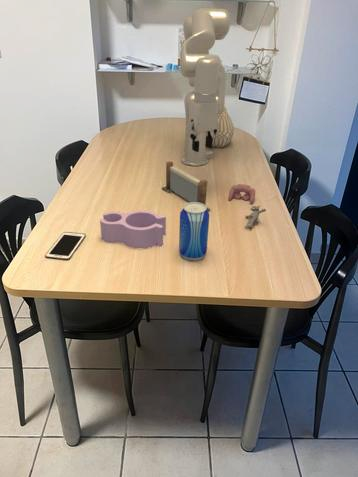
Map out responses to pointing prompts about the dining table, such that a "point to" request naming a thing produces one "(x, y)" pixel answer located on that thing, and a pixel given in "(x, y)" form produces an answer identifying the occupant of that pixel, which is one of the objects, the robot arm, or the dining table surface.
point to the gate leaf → (184, 184)
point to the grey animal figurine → (253, 216)
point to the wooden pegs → (201, 186)
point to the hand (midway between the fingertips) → (202, 148)
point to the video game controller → (242, 188)
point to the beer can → (193, 231)
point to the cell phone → (65, 246)
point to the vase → (223, 130)
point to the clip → (133, 228)
